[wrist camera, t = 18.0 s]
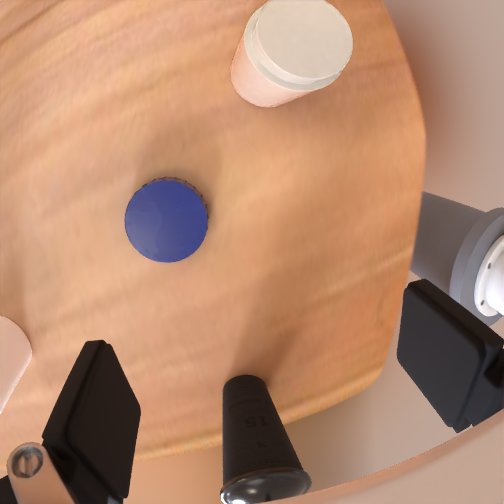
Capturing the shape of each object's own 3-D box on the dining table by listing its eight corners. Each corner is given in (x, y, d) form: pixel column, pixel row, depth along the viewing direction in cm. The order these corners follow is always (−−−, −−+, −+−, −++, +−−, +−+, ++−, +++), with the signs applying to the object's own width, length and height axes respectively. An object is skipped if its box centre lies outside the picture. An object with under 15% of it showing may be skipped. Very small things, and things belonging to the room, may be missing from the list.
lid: (143, 166, 24) (138, 168, 22) (219, 192, 26) (220, 196, 24) (120, 240, 26) (115, 248, 24) (192, 264, 27) (192, 273, 26)
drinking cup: (282, 403, 35) (333, 550, 16) (220, 417, 34) (243, 570, 16) (272, 357, 32) (333, 530, 13) (201, 374, 32) (216, 554, 13)
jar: (312, 59, 23) (372, 21, 13) (286, 118, 24) (339, 106, 15) (246, 30, 21) (274, -29, 12) (218, 91, 23) (229, 57, 13)
